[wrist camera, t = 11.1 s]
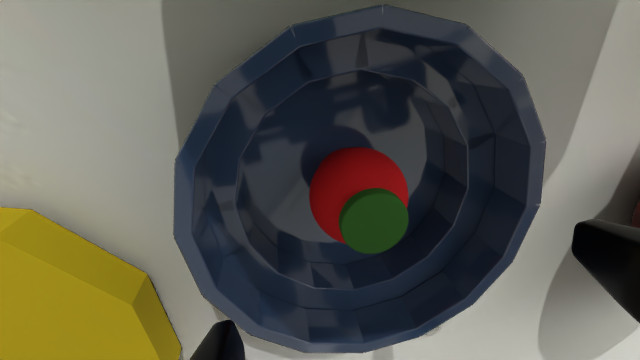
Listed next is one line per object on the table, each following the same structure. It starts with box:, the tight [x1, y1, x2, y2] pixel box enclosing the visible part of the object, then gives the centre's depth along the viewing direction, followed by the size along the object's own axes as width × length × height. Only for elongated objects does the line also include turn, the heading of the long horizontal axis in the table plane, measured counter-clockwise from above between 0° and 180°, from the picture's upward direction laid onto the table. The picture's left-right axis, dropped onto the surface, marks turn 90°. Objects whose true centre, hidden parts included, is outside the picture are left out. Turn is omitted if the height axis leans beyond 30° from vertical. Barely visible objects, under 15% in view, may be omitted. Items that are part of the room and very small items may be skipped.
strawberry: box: [309, 147, 408, 254], centre depth 13 cm, size 4×4×4 cm
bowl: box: [173, 4, 546, 353], centre depth 13 cm, size 13×13×4 cm
